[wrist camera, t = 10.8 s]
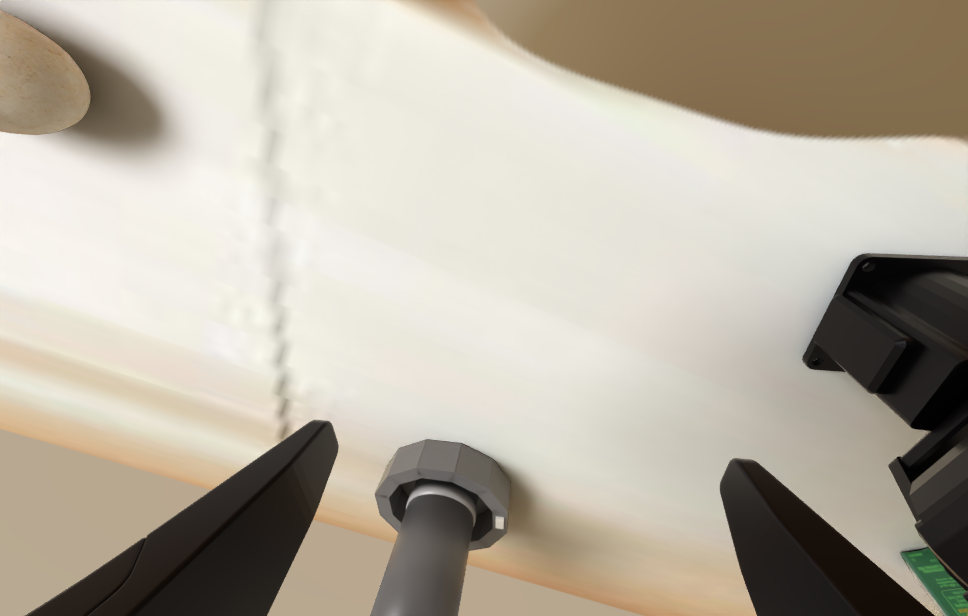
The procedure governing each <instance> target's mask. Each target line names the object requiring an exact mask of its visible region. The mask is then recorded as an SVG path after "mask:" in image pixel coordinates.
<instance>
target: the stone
mask: <svg viewBox="0 0 968 616" xmlns="http://www.w3.org/2000/svg"><path fill="white" fill-rule="evenodd" d="M90 100H91V95H90V89H89V86H88V83H87V81H86V79H85V76H84V74H83V73H82V71H81V69H80V68H79V67H78V65H77V64H76V63H75V61H74V60H73V59H72V58H71V57H70V56H69V54H68V53H67V52H66V51H64V50H63V49H62V48H61V47H60V46H59V45H58V44H56V43H55V42H54V41H52V40H51V39H49V38H48V37H46V36H45V35H43V34H42V33H40V32H39V31H37V30H36V29H34V28H33V27H31V26H30V25H28V24H27V23H25V22H23V21H21V20H20V19H18V18H16V17H14V16H12V15H10V14H8V13H6V12H4V11H2V10H0V131H1V132H7V133H15V134H28V135H39V134H48V133H53V132H58V131H61V130H64V129H66V128H68V127H70V126H72V125H74V124H76V123H77V122H79V121H80V120H81V119H82V118H83V117H84V116H85V114H86V113H87V111H88V108H89V105H90Z"/></svg>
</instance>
